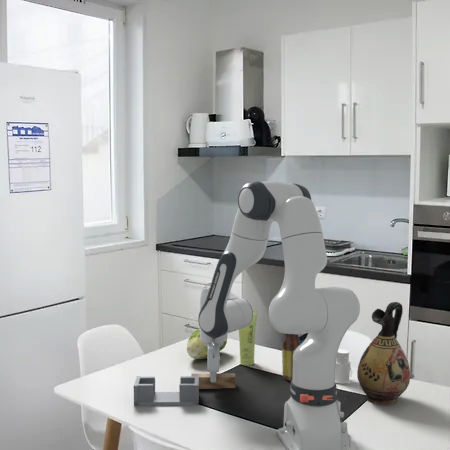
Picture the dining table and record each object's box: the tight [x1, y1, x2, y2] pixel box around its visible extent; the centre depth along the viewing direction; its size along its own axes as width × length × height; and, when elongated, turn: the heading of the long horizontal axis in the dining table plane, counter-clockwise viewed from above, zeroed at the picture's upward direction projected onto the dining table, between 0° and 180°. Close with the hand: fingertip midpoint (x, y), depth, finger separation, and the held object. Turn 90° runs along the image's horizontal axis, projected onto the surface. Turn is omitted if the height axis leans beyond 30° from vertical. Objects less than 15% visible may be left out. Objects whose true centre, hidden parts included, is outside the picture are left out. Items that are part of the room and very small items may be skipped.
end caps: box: [133, 375, 200, 406], centre depth 184 cm, size 19×8×6 cm, turn 91°
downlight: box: [335, 348, 353, 385], centre depth 202 cm, size 8×7×10 cm
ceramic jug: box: [356, 301, 411, 406], centre depth 185 cm, size 17×15×30 cm
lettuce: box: [186, 327, 228, 360], centre depth 224 cm, size 12×21×11 cm, turn 158°
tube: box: [238, 310, 258, 366], centre depth 217 cm, size 6×5×20 cm
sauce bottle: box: [281, 333, 301, 382], centre depth 203 cm, size 6×6×20 cm
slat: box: [190, 372, 236, 390], centre depth 196 cm, size 14×4×4 cm, turn 92°
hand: (213, 376), depth 196 cm, fingers open, 8 cm apart
